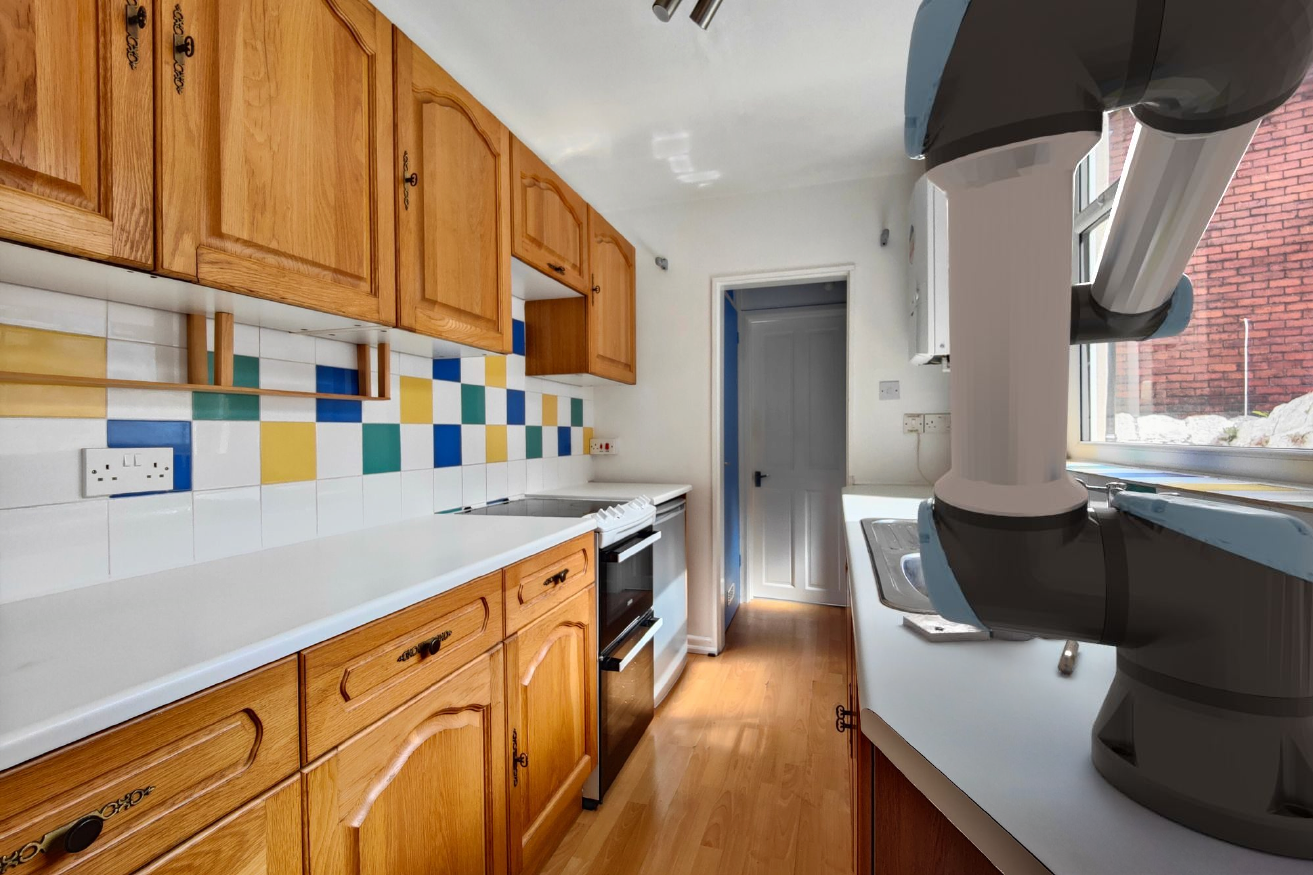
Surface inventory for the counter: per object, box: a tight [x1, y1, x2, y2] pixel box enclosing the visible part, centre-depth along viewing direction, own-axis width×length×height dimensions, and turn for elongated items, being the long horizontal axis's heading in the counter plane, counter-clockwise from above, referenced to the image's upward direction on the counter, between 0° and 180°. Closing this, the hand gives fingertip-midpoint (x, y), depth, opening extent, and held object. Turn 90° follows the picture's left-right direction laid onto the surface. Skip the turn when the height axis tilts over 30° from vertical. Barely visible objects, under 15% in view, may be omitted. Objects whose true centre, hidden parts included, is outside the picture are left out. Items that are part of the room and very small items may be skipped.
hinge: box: [902, 614, 1051, 643], centre depth 81 cm, size 25×8×2 cm, turn 94°
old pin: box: [1057, 640, 1080, 675], centre depth 70 cm, size 10×1×1 cm, turn 139°
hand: (998, 546), depth 81 cm, fingers open, 13 cm apart
